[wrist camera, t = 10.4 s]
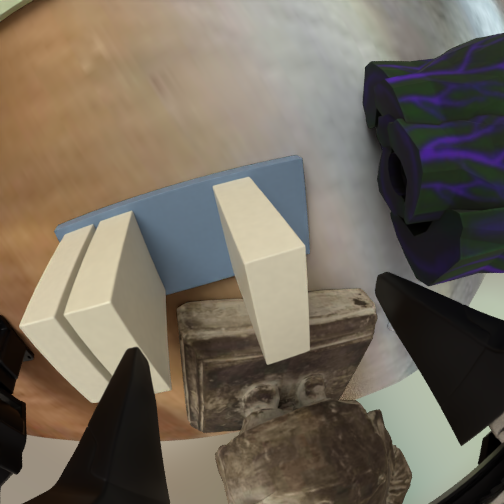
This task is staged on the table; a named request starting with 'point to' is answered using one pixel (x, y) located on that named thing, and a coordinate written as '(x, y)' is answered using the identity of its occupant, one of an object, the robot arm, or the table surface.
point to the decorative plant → (443, 157)
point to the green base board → (11, 7)
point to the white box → (266, 268)
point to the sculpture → (290, 406)
